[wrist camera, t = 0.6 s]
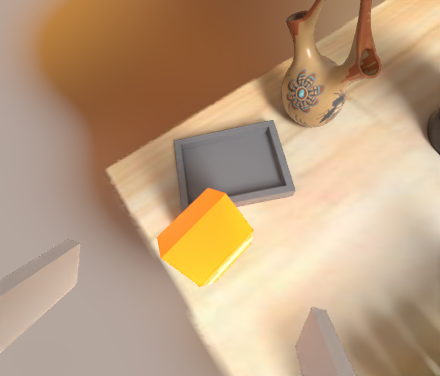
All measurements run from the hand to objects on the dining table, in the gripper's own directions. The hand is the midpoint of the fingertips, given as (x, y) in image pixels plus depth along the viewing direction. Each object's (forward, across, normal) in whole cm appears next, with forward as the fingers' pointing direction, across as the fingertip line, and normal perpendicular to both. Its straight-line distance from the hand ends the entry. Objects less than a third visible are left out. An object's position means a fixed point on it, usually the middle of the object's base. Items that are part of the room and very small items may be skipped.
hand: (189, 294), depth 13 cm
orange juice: (+26, +2, -11) cm, 28 cm away
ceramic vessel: (+41, +12, +15) cm, 45 cm away
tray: (+34, 0, +2) cm, 34 cm away
